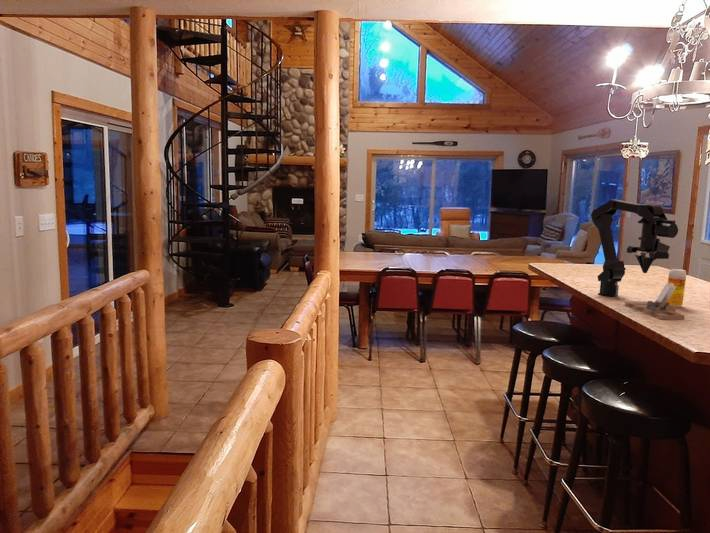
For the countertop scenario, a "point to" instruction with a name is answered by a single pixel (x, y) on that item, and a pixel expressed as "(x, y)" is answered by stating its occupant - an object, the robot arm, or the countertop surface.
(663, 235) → the robot arm
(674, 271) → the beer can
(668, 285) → the lever
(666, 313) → the base
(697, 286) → the countertop surface
